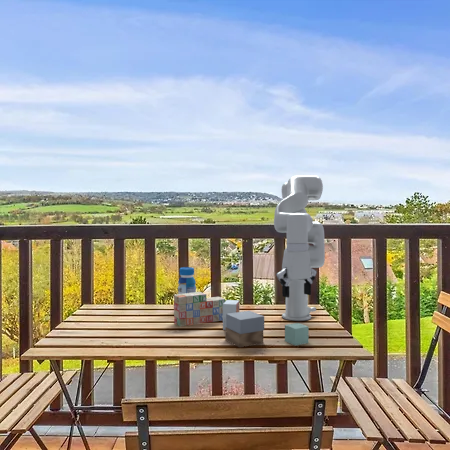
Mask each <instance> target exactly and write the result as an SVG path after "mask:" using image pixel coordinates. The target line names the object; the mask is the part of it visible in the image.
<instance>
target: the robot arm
mask: <svg viewBox="0 0 450 450" xmlns="http://www.w3.org/2000/svg"><path fill="white" fill-rule="evenodd" d="M323 189H324V185H323V180H322V178H321V177H320V176H318V175H294V176H292V177H291V178H289V179H288V181H286V182H284V183H283V184H282V186H281V197H282V200H280V202H279V203H278V204H276V207H275V208H274V217H273V226H274V229H275V230H276V232H277V233H281V234H282V233H283V234H284V233H286V247H285V249H284V250H283V257H282V262H281V263H282V264H281V270H280V271H279V272H277V273H276V274H275V275H276V278H277V281H278V282H279V284H280V285H281V286H282V288H281V290H282V291H281V293H282V294H281V295H282V297H284V298H285V312H283V313H282V315H281V317H282V318H283V319H284V320H287V321H293V322H294V321H296V322H302V321H308V320H311V319H312V315H311V314H310V313H311V312H312V313H313V312H316V311H317V307H316V306H312V307H310V306H308V305H309V304H308V299H309V296H311V294H312V284H313V283H314V282H313V281H314V280H315V279H316V276H317V270H316V268H318V269H319V268H322V267H324V264H325V261H326V259H325V257H326V256H325V255H326V253H325V251H326V250H325V249H326V248H325V247H326V245H325V229H324V226H323V224H322V223H321V222H318V221H314V220H313V217H312V216H311V214H310V213H307V210H306V207H307V206H308V204H309V201H319V200H320V199H321V198H322V195H323ZM310 244H312V245H310ZM313 268H315V269H313Z"/></svg>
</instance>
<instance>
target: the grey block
mask: <svg viewBox="0 0 450 450" xmlns="http://www.w3.org/2000/svg"><path fill="white" fill-rule="evenodd" d="M226 327H227V328H229V329H231V330H233V331H235V332H237V333H239V334H244V333H250V332H256V331H262V330H263V331H265V316H264V315H262V314H259V313H256V312H254V311H251V310H246V311H245V310H244V311H239V312H236V313H229V314H226Z"/></svg>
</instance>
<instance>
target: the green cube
mask: <svg viewBox="0 0 450 450" xmlns="http://www.w3.org/2000/svg"><path fill="white" fill-rule="evenodd" d="M284 342H285V343H288V344H290V345H293V346H300V345H305V344H309V326H308V325H305V324H302V323H299V322H296V323H289V324H284Z"/></svg>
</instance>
